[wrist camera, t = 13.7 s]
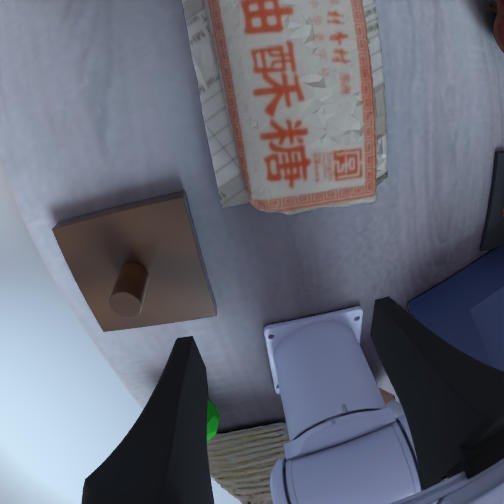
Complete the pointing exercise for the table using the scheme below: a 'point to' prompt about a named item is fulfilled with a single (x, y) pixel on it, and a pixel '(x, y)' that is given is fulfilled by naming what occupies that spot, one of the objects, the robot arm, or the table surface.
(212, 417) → the polyhedron
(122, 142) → the table surface
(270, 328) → the robot arm
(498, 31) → the apple
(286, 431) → the fossil tooth
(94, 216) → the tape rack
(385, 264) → the table surface
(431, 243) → the table surface
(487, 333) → the phone stand
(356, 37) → the packaged product
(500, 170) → the rubber pad
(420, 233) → the table surface
